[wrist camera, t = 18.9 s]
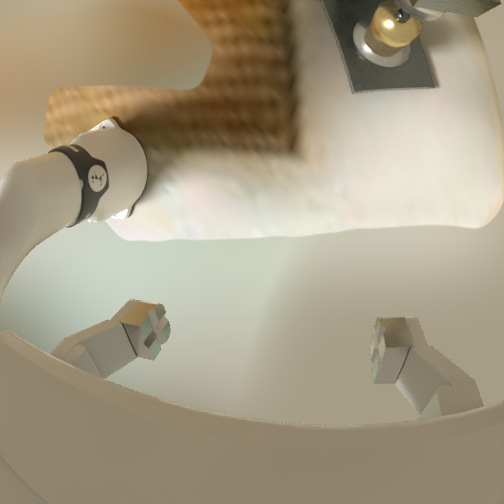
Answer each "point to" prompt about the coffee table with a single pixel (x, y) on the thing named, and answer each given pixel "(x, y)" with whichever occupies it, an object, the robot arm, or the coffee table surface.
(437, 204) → the coffee table surface
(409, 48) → the press
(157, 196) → the coffee table surface
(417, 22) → the bottle
